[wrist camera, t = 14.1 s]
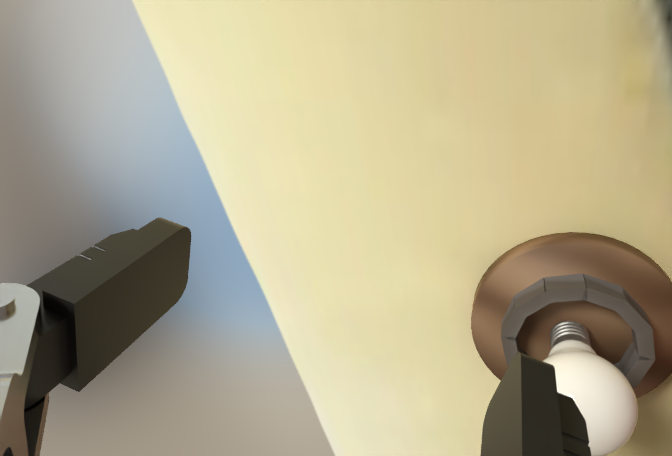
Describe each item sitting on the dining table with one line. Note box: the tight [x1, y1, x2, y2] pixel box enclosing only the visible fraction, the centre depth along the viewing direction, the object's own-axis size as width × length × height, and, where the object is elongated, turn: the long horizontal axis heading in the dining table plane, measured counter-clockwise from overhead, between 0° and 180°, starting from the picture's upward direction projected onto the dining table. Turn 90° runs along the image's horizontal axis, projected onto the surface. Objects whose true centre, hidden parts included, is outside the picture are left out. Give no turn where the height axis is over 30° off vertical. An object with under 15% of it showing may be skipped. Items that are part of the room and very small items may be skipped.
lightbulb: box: [543, 321, 638, 456], centre depth 34 cm, size 6×6×11 cm
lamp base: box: [471, 232, 672, 398], centre depth 38 cm, size 15×15×4 cm
